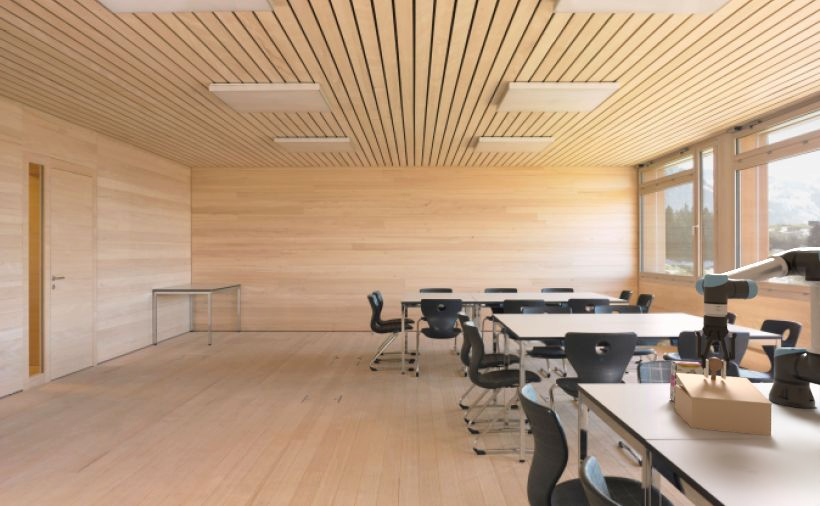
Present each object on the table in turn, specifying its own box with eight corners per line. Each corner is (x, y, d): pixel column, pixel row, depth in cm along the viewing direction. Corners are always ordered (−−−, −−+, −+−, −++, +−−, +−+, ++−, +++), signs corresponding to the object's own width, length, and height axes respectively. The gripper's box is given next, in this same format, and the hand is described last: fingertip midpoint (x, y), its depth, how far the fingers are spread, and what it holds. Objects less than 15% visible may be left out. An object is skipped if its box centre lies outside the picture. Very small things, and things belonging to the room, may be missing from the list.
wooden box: (745, 416, 180) (745, 390, 180) (771, 435, 160) (771, 405, 160) (674, 410, 185) (675, 384, 186) (691, 427, 166) (691, 399, 166)
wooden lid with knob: (746, 379, 179) (748, 356, 178) (771, 405, 160) (774, 379, 159) (675, 374, 185) (677, 352, 184) (691, 398, 166) (693, 373, 165)
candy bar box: (674, 403, 195) (675, 363, 195) (669, 399, 200) (670, 360, 200) (703, 404, 194) (704, 364, 194) (697, 401, 199) (698, 361, 199)
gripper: (691, 315, 177) (690, 378, 177) (747, 317, 172) (746, 382, 172) (685, 312, 184) (684, 373, 184) (738, 315, 179) (738, 376, 179)
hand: (714, 377), depth 178 cm, fingers closed on wooden lid with knob, 5 cm apart
